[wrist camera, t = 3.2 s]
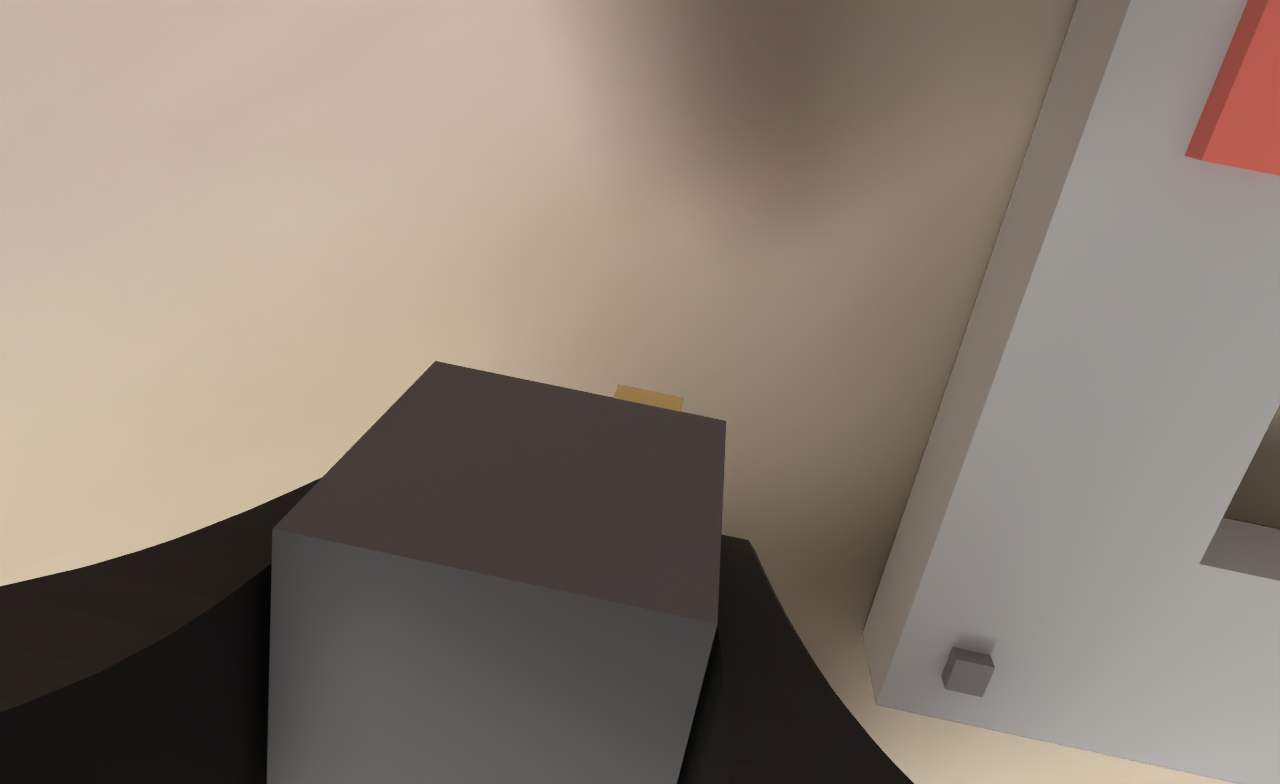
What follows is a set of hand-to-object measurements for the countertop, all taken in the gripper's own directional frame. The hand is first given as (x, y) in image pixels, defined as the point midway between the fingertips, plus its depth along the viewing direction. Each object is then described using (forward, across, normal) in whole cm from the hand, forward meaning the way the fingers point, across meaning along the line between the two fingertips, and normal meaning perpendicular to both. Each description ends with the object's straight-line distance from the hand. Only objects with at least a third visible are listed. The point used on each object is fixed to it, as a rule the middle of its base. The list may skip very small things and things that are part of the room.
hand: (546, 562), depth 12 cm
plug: (+2, 0, 0) cm, 2 cm away
